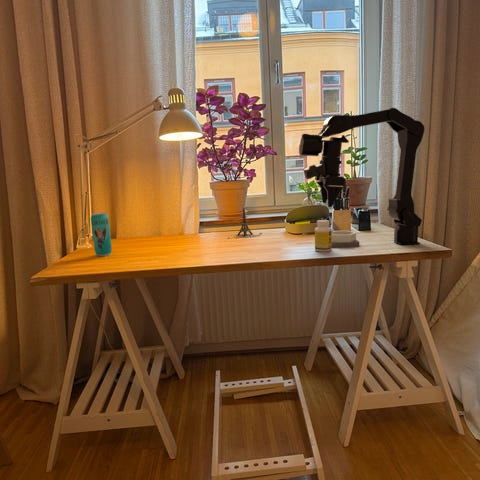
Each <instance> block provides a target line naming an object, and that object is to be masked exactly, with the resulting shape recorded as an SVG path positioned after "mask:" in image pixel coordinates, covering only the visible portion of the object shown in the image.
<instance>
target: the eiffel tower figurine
mask: <svg viewBox="0 0 480 480" xmlns="http://www.w3.org/2000/svg"><path fill="white" fill-rule="evenodd" d="M245 209H246V207H244V206H243V207H242V222H241V223H242V224H241V228H239V229H240V230H239V231H238V233H237V234H236V237H239V238H240V239H241V238H257V237H261V235H263V232H259V234H255V235H254V233H253V232H252V231H251V230H250V228H249V227H248V224H247V219H246V211H245ZM242 232H243V233H242ZM247 232H248V233H247Z"/></svg>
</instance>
